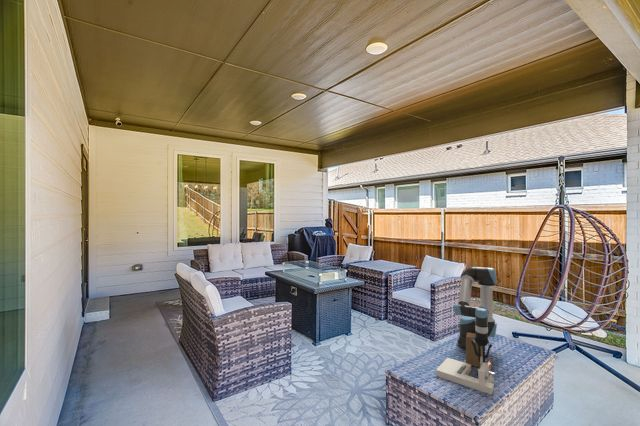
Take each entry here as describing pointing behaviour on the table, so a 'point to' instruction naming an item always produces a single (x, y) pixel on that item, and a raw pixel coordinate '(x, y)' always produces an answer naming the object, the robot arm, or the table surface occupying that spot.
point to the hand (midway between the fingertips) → (481, 366)
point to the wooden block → (472, 351)
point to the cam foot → (489, 373)
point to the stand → (465, 375)
